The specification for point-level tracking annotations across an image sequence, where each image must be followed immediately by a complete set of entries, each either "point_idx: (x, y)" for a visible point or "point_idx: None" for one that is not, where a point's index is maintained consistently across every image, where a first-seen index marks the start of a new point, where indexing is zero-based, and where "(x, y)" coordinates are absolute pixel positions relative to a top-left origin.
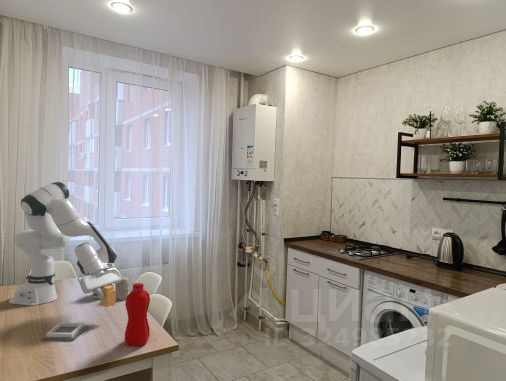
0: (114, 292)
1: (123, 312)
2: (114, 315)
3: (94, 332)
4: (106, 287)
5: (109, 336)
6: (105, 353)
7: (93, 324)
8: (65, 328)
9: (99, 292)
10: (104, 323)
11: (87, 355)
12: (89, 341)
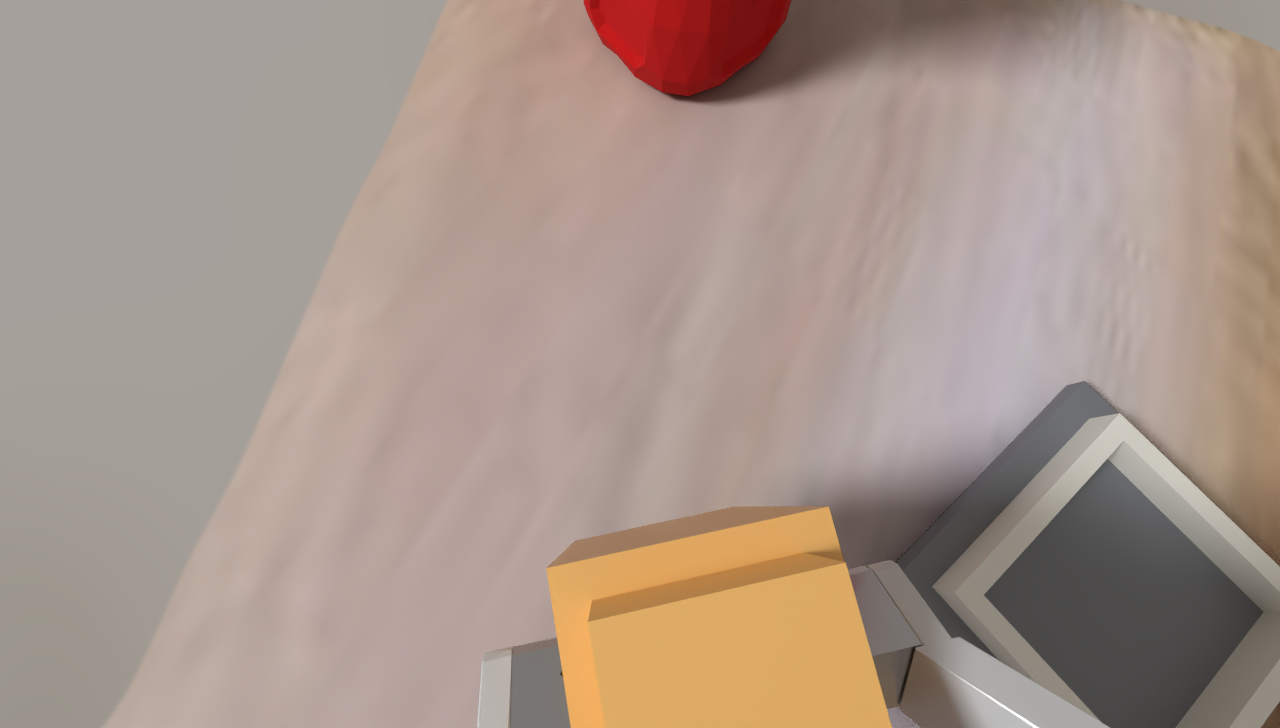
0: (594, 553)
1: (386, 689)
2: None
3: (867, 412)
4: (839, 726)
5: (798, 244)
6: (928, 43)
7: None
8: (1103, 680)
9: (1007, 694)
10: None
11: (1034, 102)
12: (959, 281)
